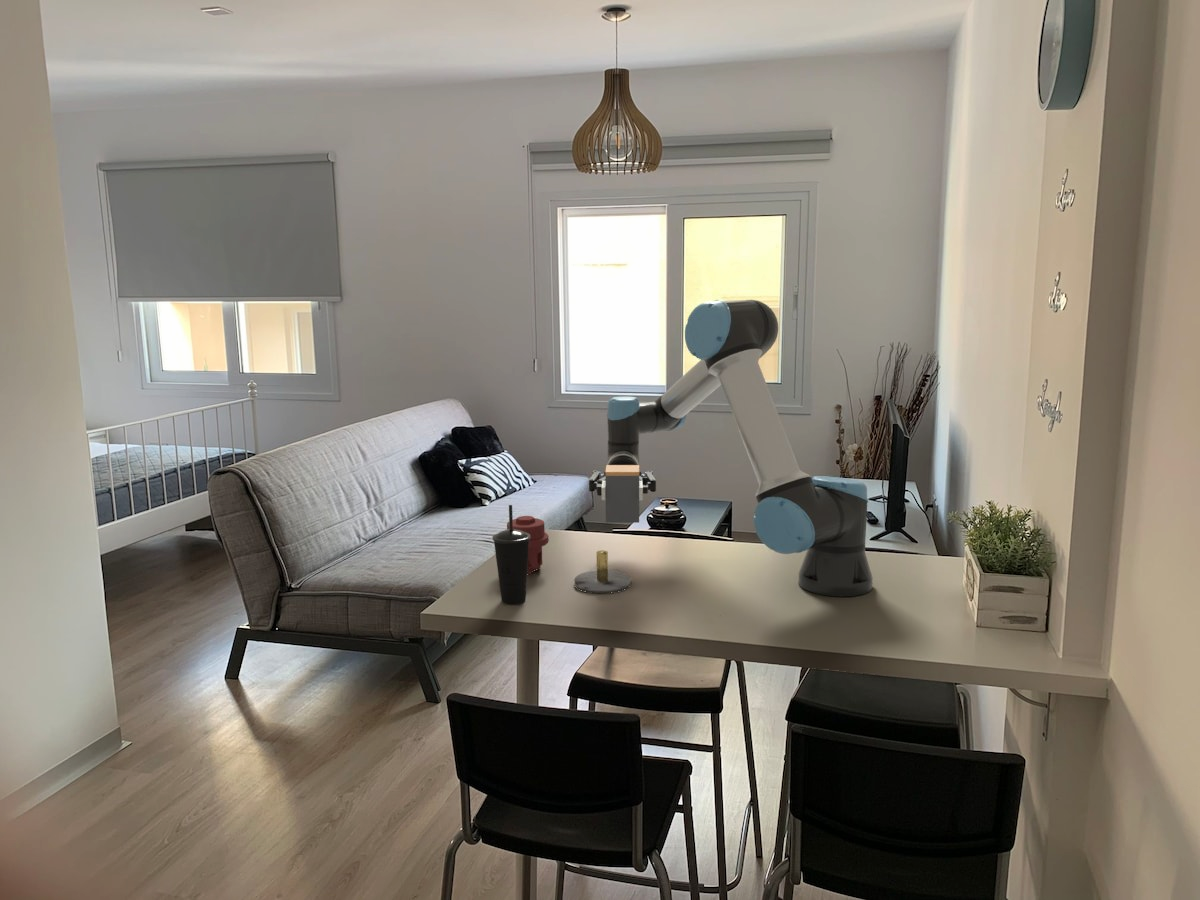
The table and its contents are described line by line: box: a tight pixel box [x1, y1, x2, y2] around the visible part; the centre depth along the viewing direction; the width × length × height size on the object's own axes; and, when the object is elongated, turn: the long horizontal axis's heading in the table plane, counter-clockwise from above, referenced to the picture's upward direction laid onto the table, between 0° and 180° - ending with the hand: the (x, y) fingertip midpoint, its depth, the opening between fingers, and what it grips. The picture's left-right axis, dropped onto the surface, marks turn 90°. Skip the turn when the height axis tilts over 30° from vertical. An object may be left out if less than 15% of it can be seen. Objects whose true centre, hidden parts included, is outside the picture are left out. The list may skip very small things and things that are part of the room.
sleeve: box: [604, 464, 640, 524], centre depth 191 cm, size 7×7×11 cm
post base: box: [574, 549, 632, 594], centre depth 193 cm, size 12×12×7 cm
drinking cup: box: [491, 504, 531, 606], centre depth 182 cm, size 8×8×20 cm
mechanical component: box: [506, 515, 549, 575], centre depth 202 cm, size 12×10×10 cm
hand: (622, 493), depth 186 cm, fingers closed on sleeve, 7 cm apart
